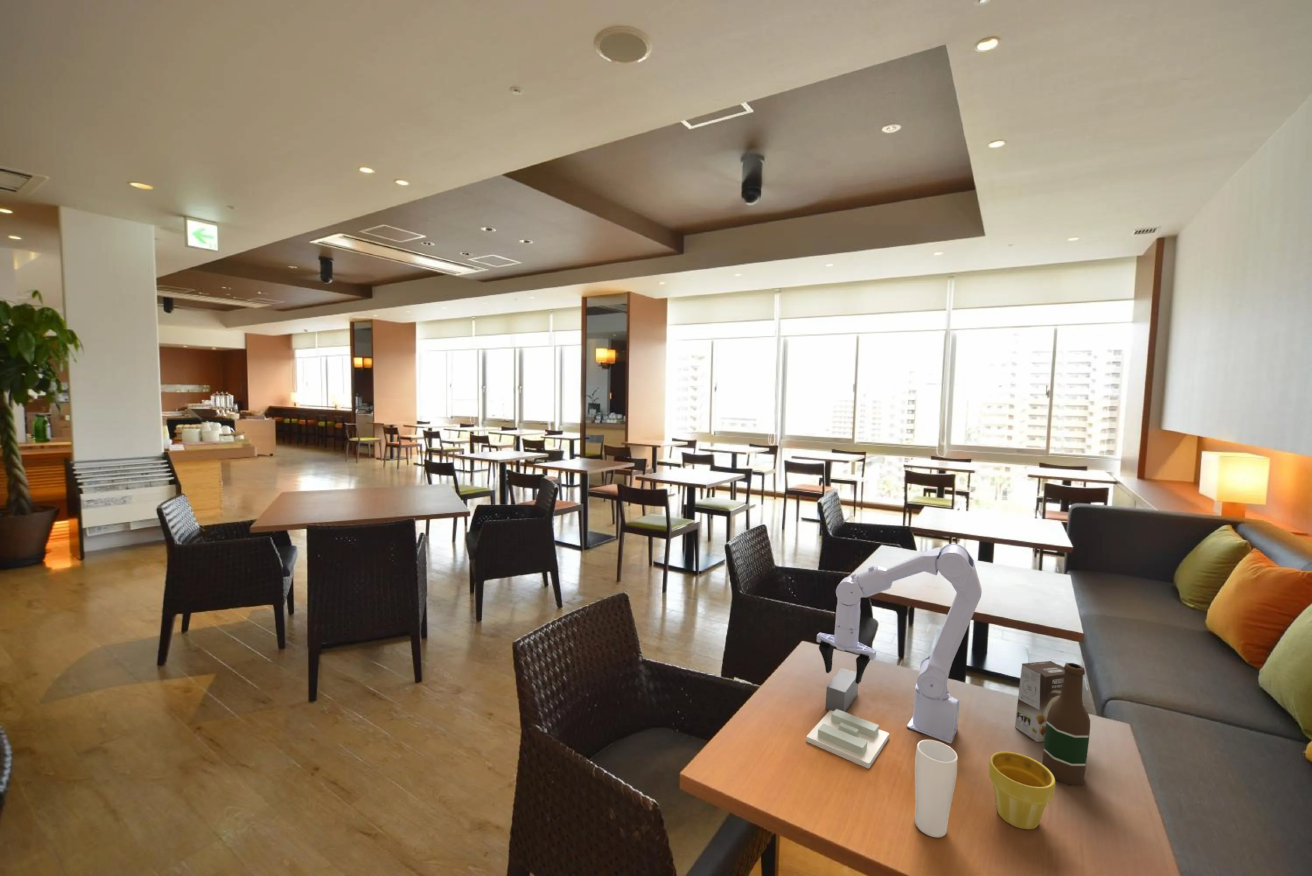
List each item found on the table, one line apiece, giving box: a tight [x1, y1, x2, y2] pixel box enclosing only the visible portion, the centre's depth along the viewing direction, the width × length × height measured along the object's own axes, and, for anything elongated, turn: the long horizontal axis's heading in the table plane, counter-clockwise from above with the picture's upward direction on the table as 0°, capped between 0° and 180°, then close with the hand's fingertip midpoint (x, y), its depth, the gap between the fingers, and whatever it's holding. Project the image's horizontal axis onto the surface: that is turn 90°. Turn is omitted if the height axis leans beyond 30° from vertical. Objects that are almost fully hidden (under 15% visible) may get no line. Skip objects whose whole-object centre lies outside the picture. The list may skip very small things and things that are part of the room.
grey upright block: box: [824, 667, 859, 713], centre depth 146 cm, size 4×12×6 cm, turn 145°
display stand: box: [805, 709, 890, 770], centre depth 130 cm, size 14×14×3 cm
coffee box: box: [1014, 660, 1065, 743], centre depth 135 cm, size 9×6×16 cm
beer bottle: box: [1041, 662, 1091, 786], centre depth 120 cm, size 8×8×24 cm
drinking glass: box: [914, 739, 959, 838], centre depth 104 cm, size 7×7×15 cm
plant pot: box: [988, 751, 1056, 830], centre depth 107 cm, size 10×10×10 cm
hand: (843, 676), depth 145 cm, fingers open, 7 cm apart
